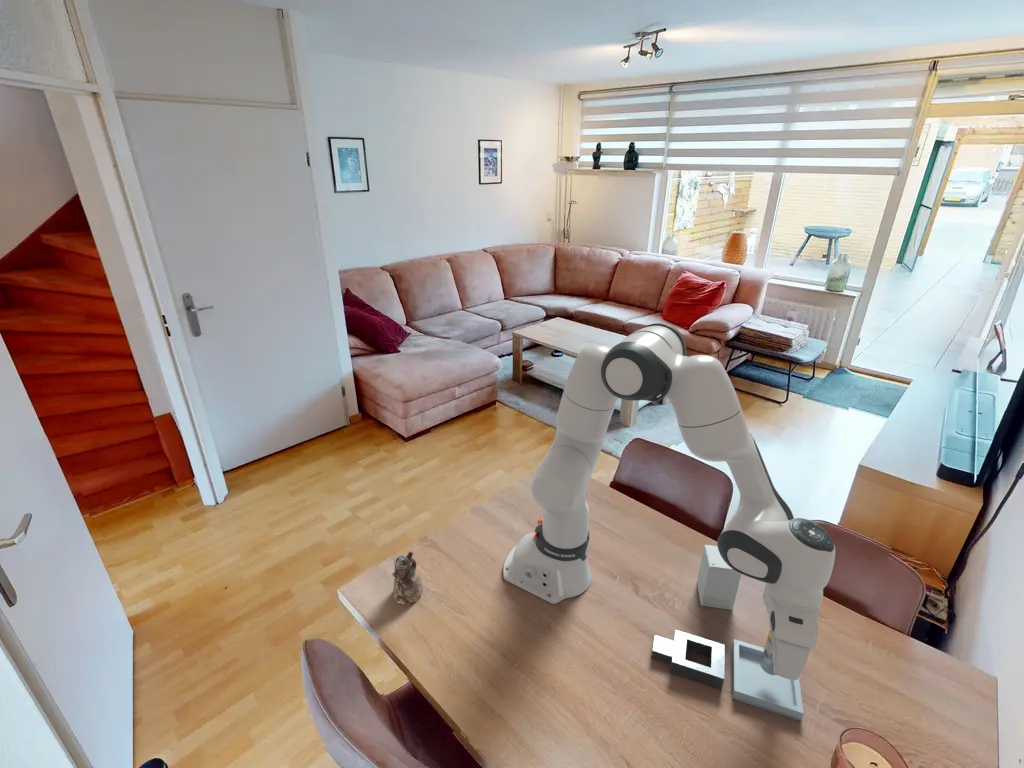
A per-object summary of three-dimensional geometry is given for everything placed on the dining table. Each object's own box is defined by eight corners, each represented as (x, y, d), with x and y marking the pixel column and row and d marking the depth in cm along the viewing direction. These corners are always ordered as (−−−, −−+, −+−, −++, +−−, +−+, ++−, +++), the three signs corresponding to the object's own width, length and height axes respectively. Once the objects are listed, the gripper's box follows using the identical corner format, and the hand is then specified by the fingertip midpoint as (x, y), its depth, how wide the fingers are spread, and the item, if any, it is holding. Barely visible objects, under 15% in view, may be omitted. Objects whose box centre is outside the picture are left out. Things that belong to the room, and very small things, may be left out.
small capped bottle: (760, 671, 98) (770, 640, 94) (759, 655, 101) (768, 625, 97) (780, 677, 96) (791, 647, 92) (779, 661, 99) (789, 631, 96)
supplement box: (733, 611, 116) (743, 571, 110) (700, 606, 117) (708, 566, 112) (727, 586, 122) (736, 547, 117) (696, 581, 124) (703, 543, 118)
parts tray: (732, 698, 98) (734, 690, 97) (731, 646, 108) (734, 639, 107) (800, 721, 94) (803, 713, 92) (793, 665, 104) (796, 657, 102)
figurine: (388, 592, 122) (382, 555, 117) (413, 577, 126) (408, 541, 121) (403, 610, 117) (397, 573, 112) (428, 594, 122) (424, 557, 116)
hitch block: (650, 666, 104) (651, 655, 102) (654, 634, 111) (656, 623, 109) (721, 690, 99) (724, 678, 98) (721, 655, 106) (724, 644, 104)
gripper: (768, 554, 100) (755, 603, 106) (776, 639, 83) (760, 691, 89) (803, 563, 98) (787, 612, 104) (818, 651, 81) (799, 704, 87)
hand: (775, 649), depth 96 cm, fingers closed on small capped bottle, 4 cm apart
